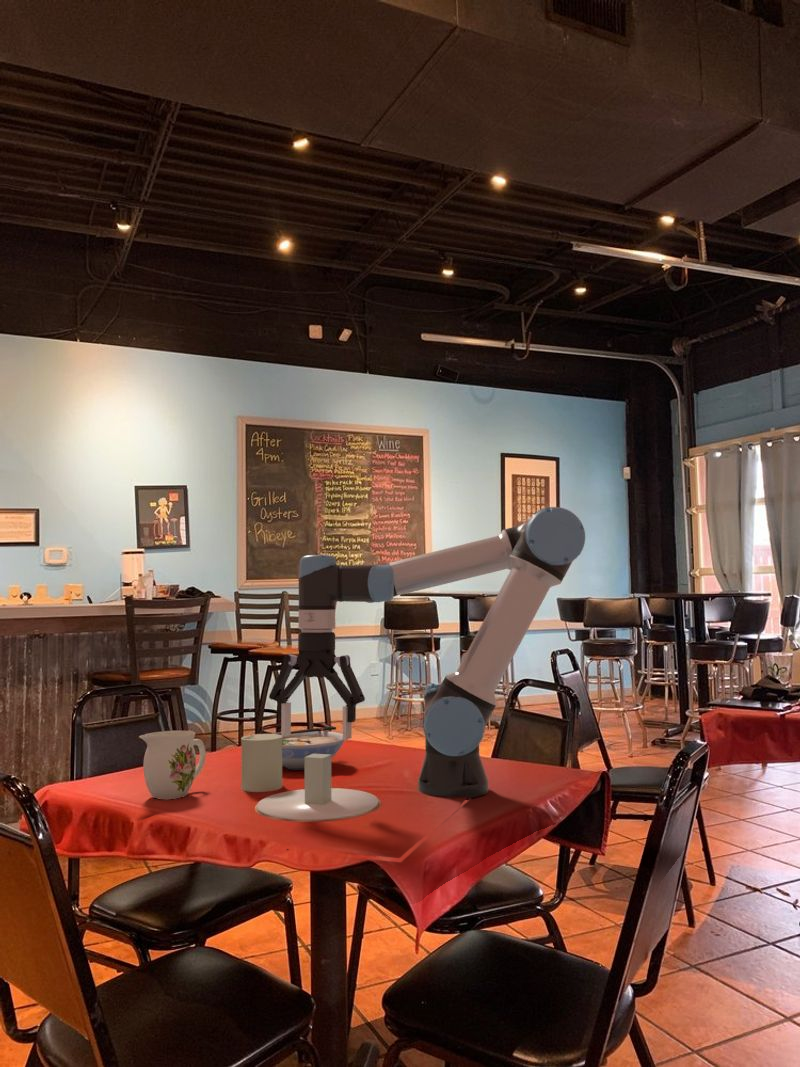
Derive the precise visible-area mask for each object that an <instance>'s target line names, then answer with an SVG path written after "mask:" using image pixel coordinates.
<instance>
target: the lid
mask: <svg viewBox="0 0 800 1067" xmlns="http://www.w3.org/2000/svg"><path fill="white" fill-rule="evenodd" d="M304 758H305V770H304V789H303V788H302V789H296V790H295V789H293V790H290V791H289V790H288V791H284V792H278V793H275V794H271V795H268V796H266V797H264V798H262V799H261V800H259V801H258V803H257V804H258V805H257V804H256V805H257V809H258V811H259V812H260V813H262V814H264V815H266V816H269V817H273V818H278V819H285V820H297V821H318V822H320V821H319V820H333V819H341V818H347V817H352V816H357V815H361V814H364V813H367V812H369V811H371V810H373V809H375V808H376V807H377V806H378V800H379V798H378V797H377V796H376V795H374V794H372V793H370V792H367V791H364V790H363V791H362V790H357V789H351V788H350V789H349V788H338V787H337V788H336V787H335V788H334V787H332V758H331V754H311V755H309V756H306V757H304ZM361 816H362V815H361ZM357 817H358V816H357ZM341 820H342V819H341ZM333 821H334V820H333Z"/></svg>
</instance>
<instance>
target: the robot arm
mask: <svg viewBox="0 0 800 1067" xmlns="http://www.w3.org/2000/svg"><path fill="white" fill-rule="evenodd" d="M585 542H586V530H585V528H584V525H583V523H582V521H581V520H580V518H579V517H578V515H576V514H575V513H574V512H572V511H571V510H569V509H566V508H564V507H558V506H548V507H543V508H541V509H539V510H538V511H536V512H535V513H534V514H533V515H532V516H531V517H530V518H529V519H528V520H526V521H524V522H523V523H520V524H518V525H515V526H513V527H509V528H505V529H502V531H501V532H500V534H499V535H496V536H491V537H488V538H485V539H484V538H483V539H479V540H476V541H471V542H468V543H464V544H463V543H462V544H461V545H460V544H459V545H455V546H452V547H448V548H443V549H439V550H436V551H432V552H428V553H423V554H419V555H415V556H411V557H408V558H403V559H399V560H395V561H391V562H388V563H383V564H354V565H353V564H352V565H342V564H338V563H337V561H336V560H337V559H336V557H335V556H334V555H327V554H326V555H322V554H310V555H303V556H302V557H301V558H300V560H299V569H298V572H299V573H298V579H297V580H298V629H299V630H301V632H299V633H298V636H297V641H298V642H297V645H298V646H297V649H298V654H297V655H295V654H294V653H290V654H289V653H287V654H285V655H284V656H283V663H282V667H281V669H280V671H279V673H278V675H277V677H276V680H275V682H274V685H273V686H272V689H271V691H270V693H269V696H268V698H269V699H270V700H273V701H275V702H277V717H278V719H279V720H281V721H280V722H281V724H280V726H281V728H280V733H281V736H287V735H290V734H291V730H292V729H291V728H292V702H290V698H291V697H292V695H293V694H294V693H295V691H296V690H297V689H298V687H299V686H300V685H301V683H302V682H303V681H304V680H305V679H306V678H314V677H315V678H319V679H321V678H325V679H326V680H328V681H329V682H330V684H331V686H332V687H333V689H335V691H336V692H337V694H338V695H339V696H340V698H341V699H342V701H344V703H345V704H346V705H343V706H342V734H343V740H344V741H347V740H349V739H350V740H351V739H352V728H353V727H352V725H353V724H352V723H354V722H356V720H357V719H356V718H357V717H356V716H357V713H356V712H357V711H356V709H357V708H356V706H357V705H358V704H360V703H364V702H365V700H366V697H365V695H364V693H363V690H362V688H361V685H360V684H359V681H358V680H357V677H356V675H355V673H354V671H353V668H352V666H351V657H350V655H348V654H345V655H340V656H337V655H336V652H335V651H336V633H335V631H333V630H335V629H336V602H338V603H339V602H340V603H341V602H343V603H344V602H346V603H348V602H351V603H352V602H354V603H355V602H356V603H358V602H359V603H369V604H372V603H383V602H390V601H392V600H393V598H394V597H398V596H403V595H406V594H410V593H414V592H418V591H421V590H422V591H423V590H426V589H430V588H435V587H438V586H442V585H447V584H452V583H454V582H458V581H463V580H467V579H471V578H476V577H479V576H483V575H487V574H493V573H496V572H499V571H503V570H509V572H508V574H507V577H506V578H505V580H504V582H503V583H502V586H501V588H500V590H499V591H498V593H497V595H496V597H495V599H494V601H493V603H492V605H491V606H490V608H489V610H488V612H487V614H486V616H485V617H484V619H483V621H482V622H481V625H480V627H479V629H478V631H477V633H476V634H475V635H474V638H473V640H472V642H471V643H470V645H469V648H468V649H467V651H466V652H465V655H464V657H463V659H462V660H461V662H460V664H459V666H458V668H457V670H456V671H455V672H451V673H449V674H446V675H445V676H444V678H443V680H442V682H439V683H438V682H435V683H434V682H433V683H428V684H426V686H424V687H425V688H424V694H423V700H424V717H423V721H422V722H423V723H422V728H423V729H422V730H423V733H424V742H425V743H424V744H425V754H424V755H425V757H424V759H423V763H422V767H421V770H420V773H419V776H418V781H417V790H418V792H420V793H421V794H424V795H427V796H432V797H441V798H467V799H472V798H473V799H474V798H478V797H481V796H484V795H487V794H488V793H489V780H488V776H487V774H486V770H485V767H484V764H483V762H482V758H481V755H480V743H481V742H482V740H483V738H484V736H485V730H486V726H487V724H488V722H489V720H490V718H491V716H492V714H493V712H494V710H495V708H496V706H497V705H498V702H497V700H496V695H495V692H496V690H497V689H498V687H499V685H500V683H501V680H502V679H503V677H504V675H505V673H506V671H507V669H508V667H509V665H510V664H511V662H512V660H513V658H514V656H515V655H516V653H517V651H518V649H519V648H520V647H519V646H520V645H521V643H522V642H523V639H524V637H525V635H526V633H527V631H528V630H529V629H530V626H531V624H532V623H533V620H534V618H535V616H536V615H537V613H538V611H539V609H540V607H541V605H542V604H543V601H544V600H545V598H546V595H547V594H548V592H549V590H550V589H551V588H552V587H555V586H558V585H561V584H562V582H563V580H564V578H565V576H566V574H567V573H568V572H569V569H570V568H571V565H572V563H573V562H574V561H575V560H577V558H578V557H579V556H580V555H581V554H582V551H583V550H584V547H585ZM296 664H298V666H299V669H297V671H296V673H295V674H294V677H292V679H291V680H290V681H289V683H288V684H287V685H286V683H287V682H288V680H289V677H290V675H291V673H292V671H293V669H294V666H295V665H296ZM336 664H337V665H338V667H339V668H340V671H341V673H342V675H343V677H344V680H345V683H346V684H347V686H346V684H345V683H344V682H343V680H342V678H340V676H339V674H338V672H337V671H336V669H335V666H336ZM285 686H286V687H285Z"/></svg>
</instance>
